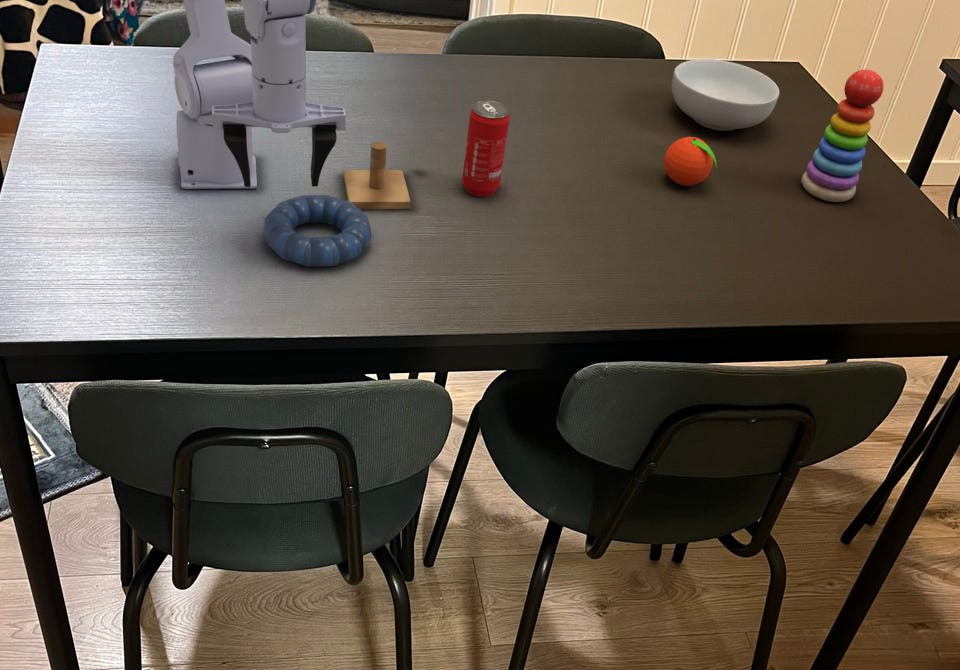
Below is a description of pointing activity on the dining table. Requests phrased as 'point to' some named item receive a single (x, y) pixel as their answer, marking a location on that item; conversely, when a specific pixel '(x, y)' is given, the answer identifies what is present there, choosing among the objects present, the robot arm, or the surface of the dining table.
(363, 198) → the stand
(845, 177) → the stacking toy
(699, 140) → the clementine
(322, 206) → the ring
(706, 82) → the cereal bowl
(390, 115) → the dining table surface
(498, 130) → the beverage can
